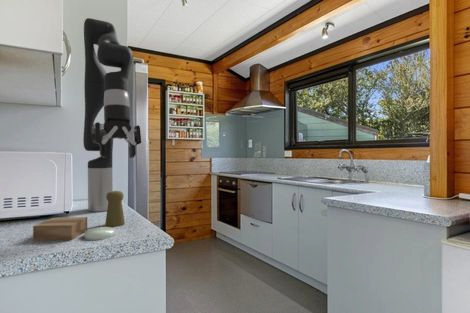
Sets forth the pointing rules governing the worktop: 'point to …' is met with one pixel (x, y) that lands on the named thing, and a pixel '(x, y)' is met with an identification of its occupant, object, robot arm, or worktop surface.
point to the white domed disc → (99, 233)
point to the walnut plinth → (59, 229)
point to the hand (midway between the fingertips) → (118, 157)
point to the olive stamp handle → (114, 209)
